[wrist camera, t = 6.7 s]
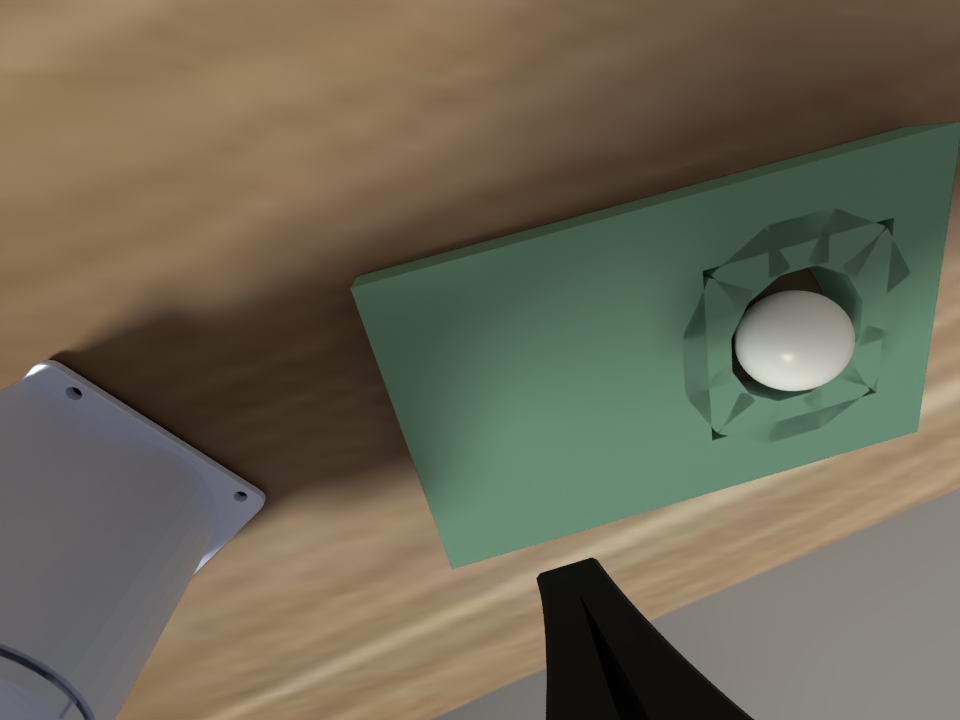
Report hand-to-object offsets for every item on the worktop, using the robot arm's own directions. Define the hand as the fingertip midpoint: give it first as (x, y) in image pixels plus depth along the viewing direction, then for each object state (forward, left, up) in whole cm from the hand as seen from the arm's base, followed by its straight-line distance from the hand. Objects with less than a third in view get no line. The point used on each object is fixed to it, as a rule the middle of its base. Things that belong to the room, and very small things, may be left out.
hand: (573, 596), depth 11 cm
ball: (+6, +10, -8) cm, 14 cm away
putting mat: (+4, +6, -10) cm, 12 cm away
